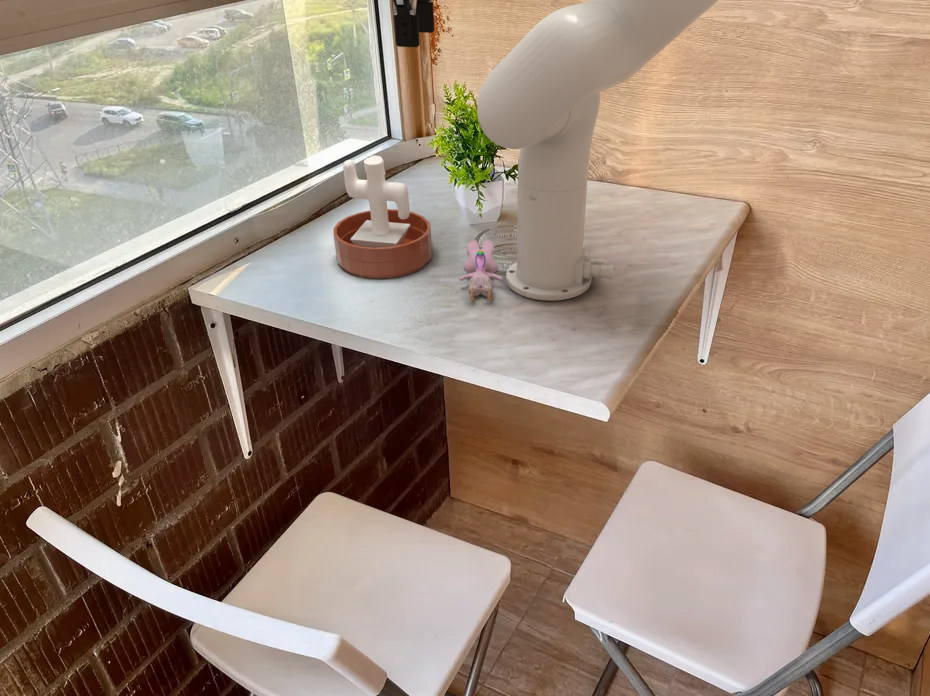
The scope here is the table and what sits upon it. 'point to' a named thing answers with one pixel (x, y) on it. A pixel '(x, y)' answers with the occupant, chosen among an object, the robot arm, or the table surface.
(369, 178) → the figurine
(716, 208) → the table surface
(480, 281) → the rabbit figure
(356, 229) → the bowl
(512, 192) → the table surface
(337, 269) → the table surface
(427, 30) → the robot arm
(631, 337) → the table surface
